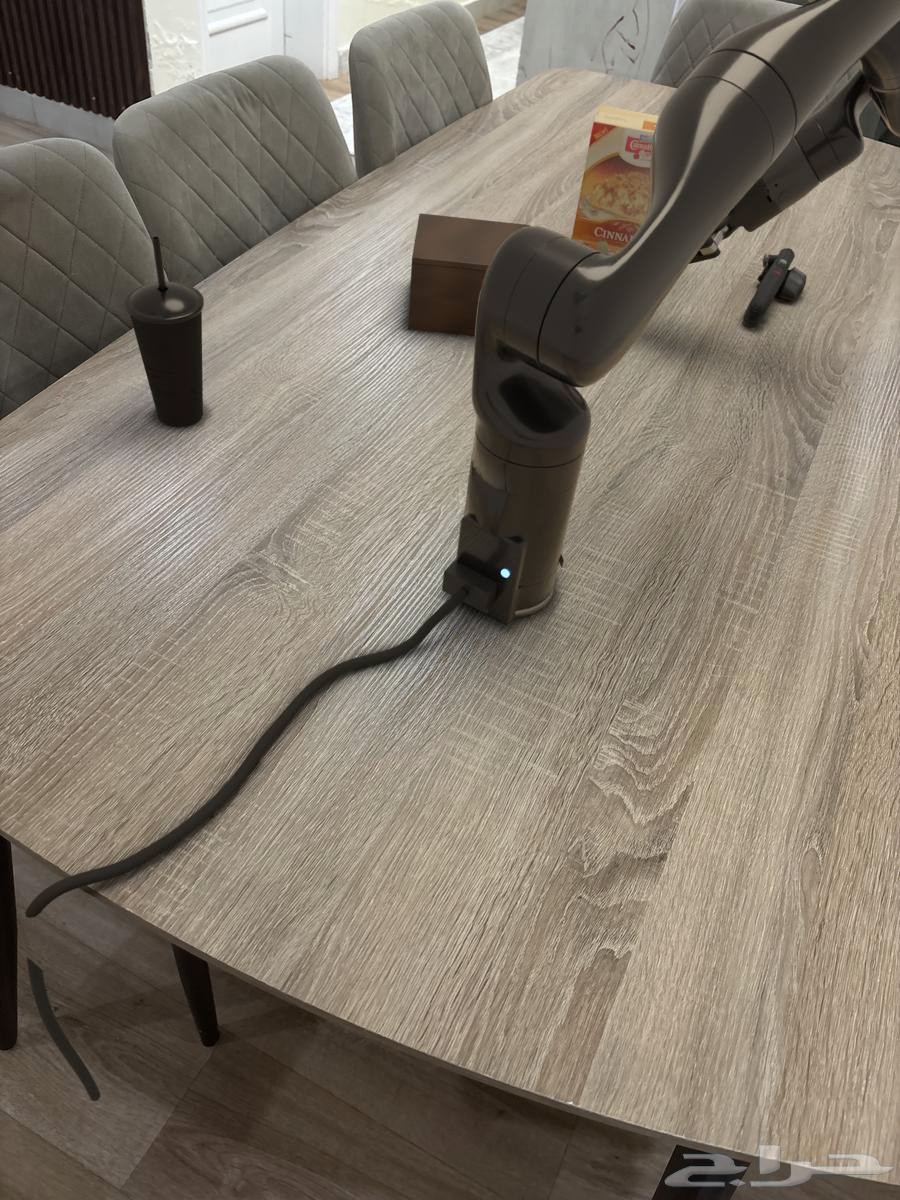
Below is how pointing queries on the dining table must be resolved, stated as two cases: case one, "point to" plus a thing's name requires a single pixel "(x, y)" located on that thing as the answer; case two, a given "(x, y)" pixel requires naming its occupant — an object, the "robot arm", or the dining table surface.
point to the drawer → (601, 247)
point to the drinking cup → (170, 344)
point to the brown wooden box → (451, 270)
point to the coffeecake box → (615, 179)
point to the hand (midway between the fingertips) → (643, 269)
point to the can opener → (775, 284)
